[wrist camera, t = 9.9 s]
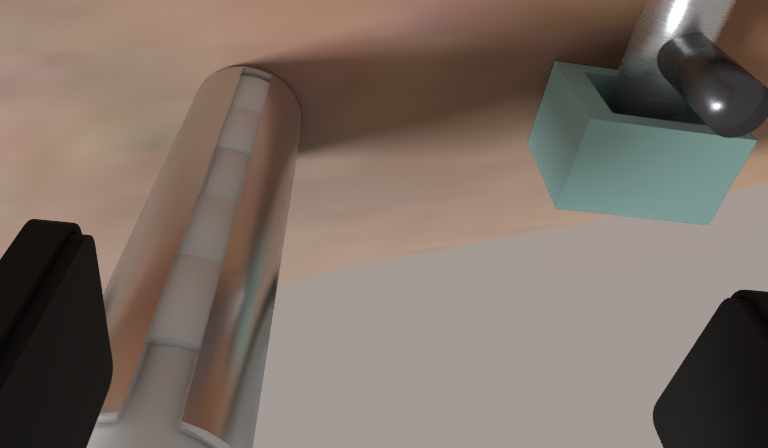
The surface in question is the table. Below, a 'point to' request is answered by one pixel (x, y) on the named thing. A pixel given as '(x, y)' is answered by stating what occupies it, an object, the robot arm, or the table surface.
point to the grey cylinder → (203, 273)
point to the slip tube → (687, 69)
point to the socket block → (628, 154)
